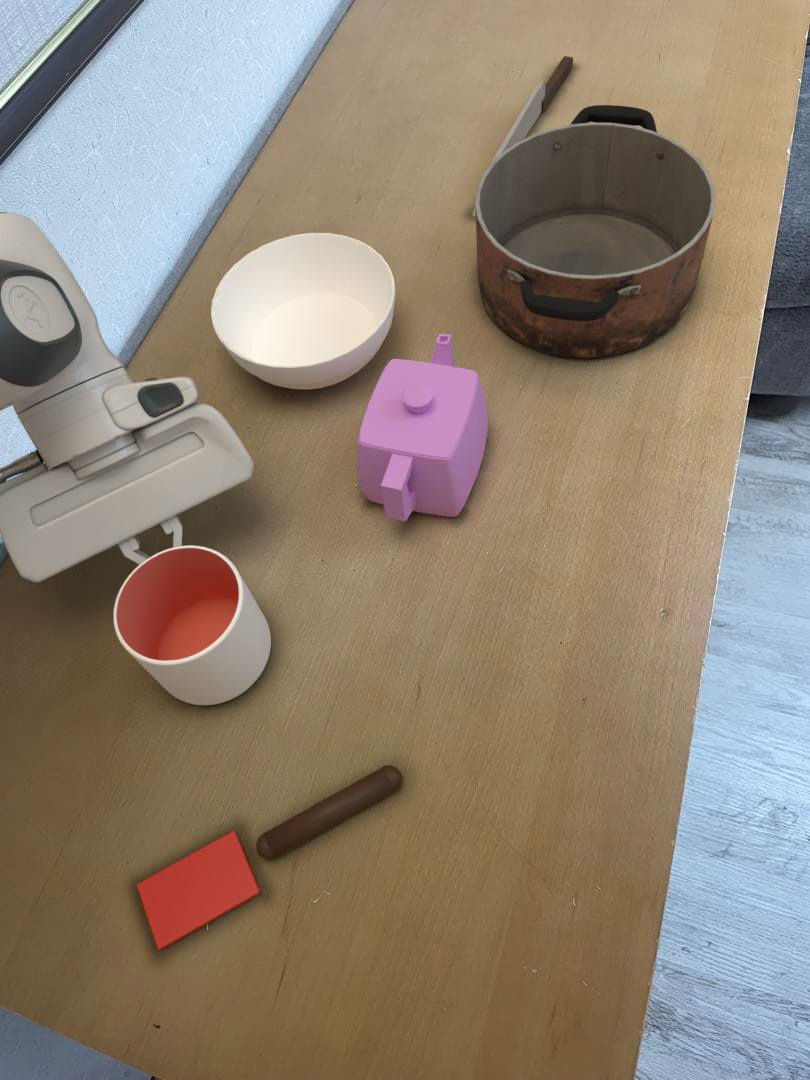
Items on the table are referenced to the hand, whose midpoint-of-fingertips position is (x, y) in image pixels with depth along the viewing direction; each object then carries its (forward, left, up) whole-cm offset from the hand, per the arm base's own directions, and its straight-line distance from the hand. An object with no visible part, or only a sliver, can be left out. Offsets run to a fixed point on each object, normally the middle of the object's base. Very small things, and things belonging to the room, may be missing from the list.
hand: (174, 576), depth 70 cm
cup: (0, -6, -5) cm, 8 cm away
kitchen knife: (+58, +38, -5) cm, 70 cm away
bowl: (+22, +21, -5) cm, 31 cm away
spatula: (-2, -23, -5) cm, 23 cm away
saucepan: (+50, +14, -5) cm, 52 cm away
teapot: (+25, +2, -5) cm, 26 cm away
